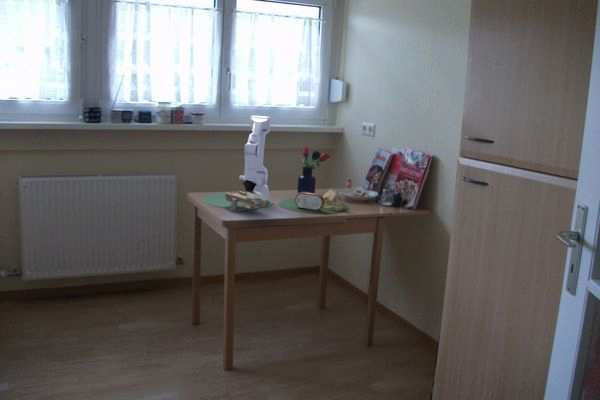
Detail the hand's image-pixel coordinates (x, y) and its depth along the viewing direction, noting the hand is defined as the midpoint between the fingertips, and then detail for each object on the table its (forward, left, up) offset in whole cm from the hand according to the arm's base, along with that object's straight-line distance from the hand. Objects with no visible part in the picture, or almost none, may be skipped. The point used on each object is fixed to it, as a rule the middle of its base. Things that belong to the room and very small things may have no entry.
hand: (249, 196), depth 290 cm
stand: (0, -4, -7) cm, 8 cm away
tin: (-30, +11, -7) cm, 33 cm away
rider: (0, +4, -1) cm, 4 cm away
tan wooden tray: (0, -2, -4) cm, 5 cm away
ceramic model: (-44, +14, -7) cm, 47 cm away
